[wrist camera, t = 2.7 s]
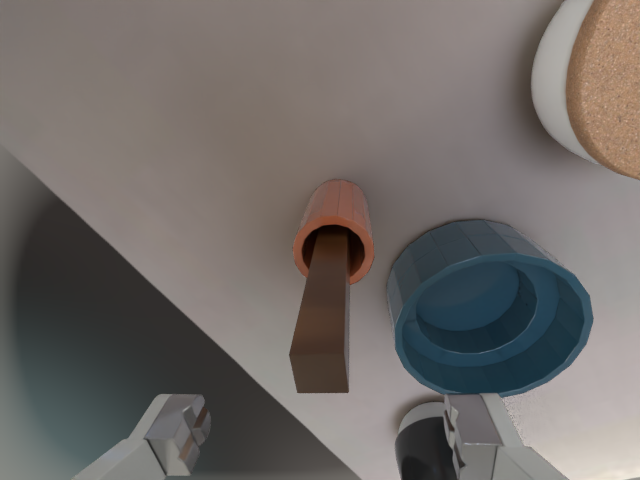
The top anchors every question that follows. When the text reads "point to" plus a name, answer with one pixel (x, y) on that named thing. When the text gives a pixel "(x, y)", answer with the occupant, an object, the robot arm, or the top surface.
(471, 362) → the mixing bowl
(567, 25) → the lidded bowl
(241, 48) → the top surface
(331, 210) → the pot
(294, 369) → the stirring stick
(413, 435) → the black rounded egg shape
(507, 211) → the top surface
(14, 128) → the top surface
